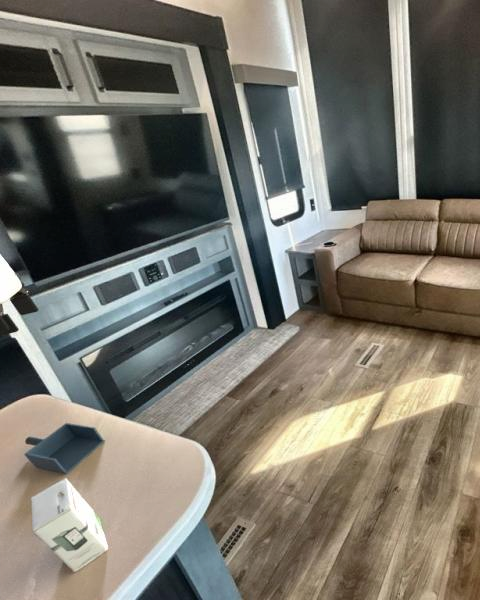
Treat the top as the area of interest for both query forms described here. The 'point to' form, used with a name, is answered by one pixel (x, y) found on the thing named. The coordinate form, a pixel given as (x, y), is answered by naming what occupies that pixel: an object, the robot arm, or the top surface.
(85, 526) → the ink box
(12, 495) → the top surface
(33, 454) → the dustpan
